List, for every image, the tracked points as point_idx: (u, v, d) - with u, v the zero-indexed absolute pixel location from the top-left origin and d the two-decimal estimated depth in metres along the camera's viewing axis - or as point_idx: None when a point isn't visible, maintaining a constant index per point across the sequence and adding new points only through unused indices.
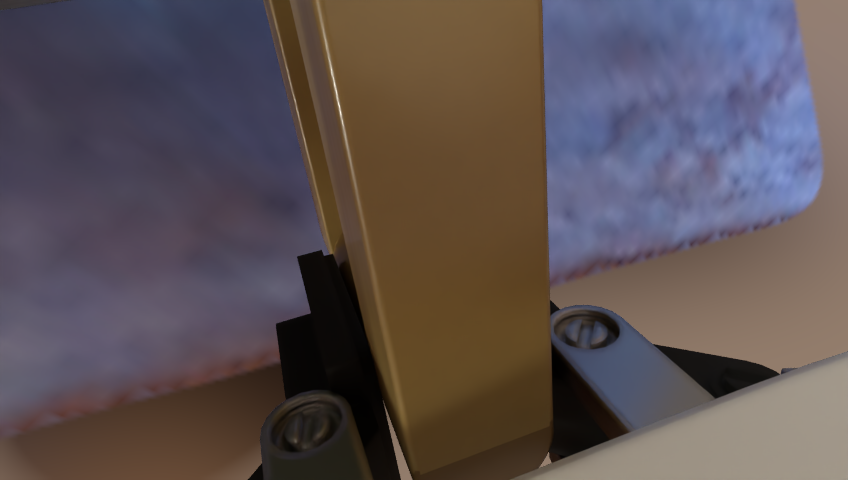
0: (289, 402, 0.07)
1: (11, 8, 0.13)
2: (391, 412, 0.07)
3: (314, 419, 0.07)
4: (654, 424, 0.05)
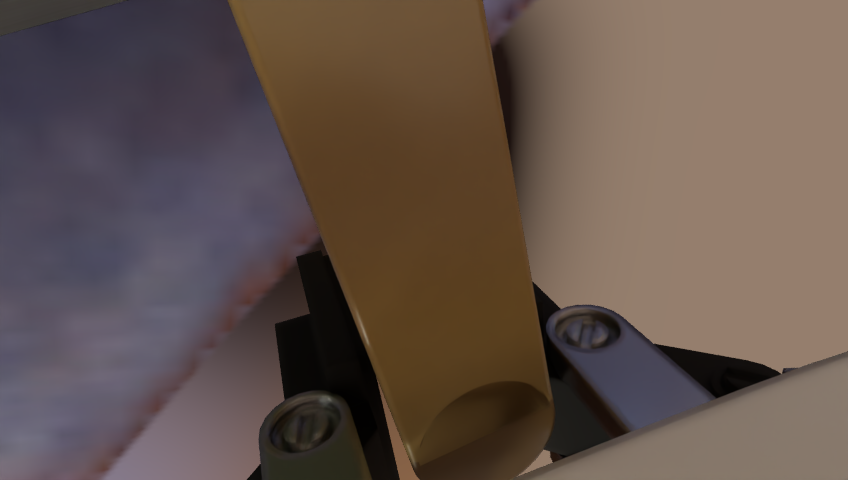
0: (288, 402, 0.07)
1: None
2: None
3: (313, 419, 0.07)
4: (654, 424, 0.05)
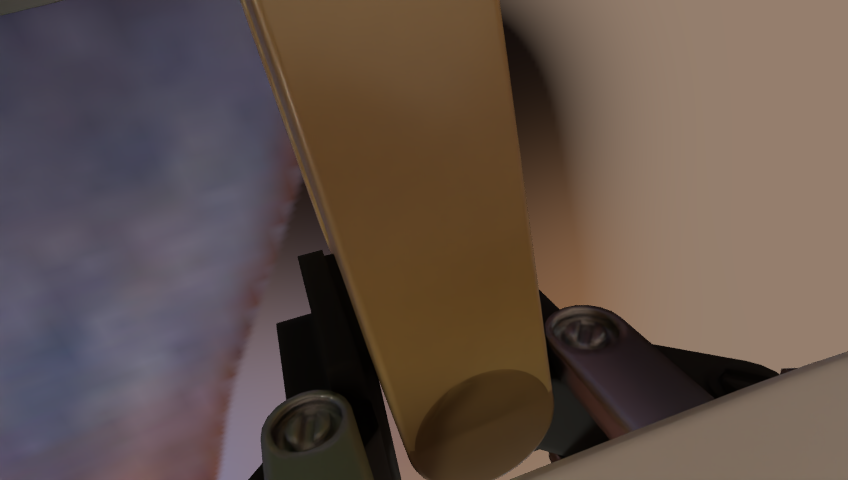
0: (289, 402, 0.07)
1: None
2: (384, 393, 0.07)
3: (314, 419, 0.07)
4: (654, 424, 0.05)
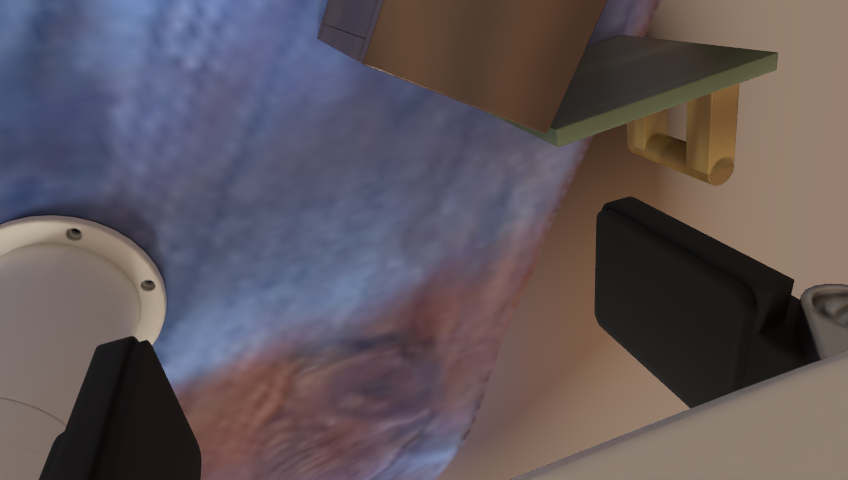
0: None
1: None
2: (698, 166, 0.34)
3: None
4: (654, 424, 0.05)
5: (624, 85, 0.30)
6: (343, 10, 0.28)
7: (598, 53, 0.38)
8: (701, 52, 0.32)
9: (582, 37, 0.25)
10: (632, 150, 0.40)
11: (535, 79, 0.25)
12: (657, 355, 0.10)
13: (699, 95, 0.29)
